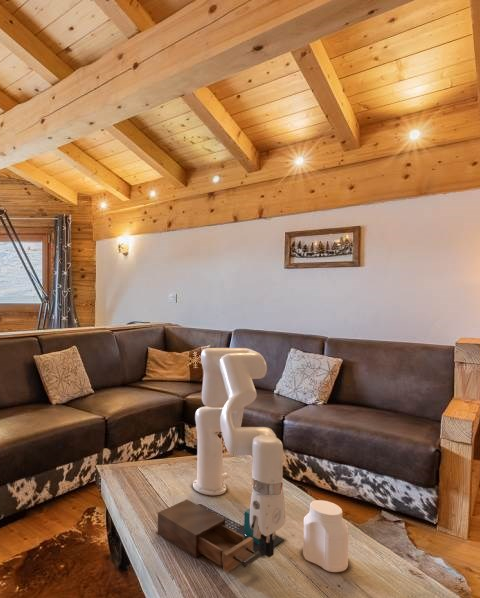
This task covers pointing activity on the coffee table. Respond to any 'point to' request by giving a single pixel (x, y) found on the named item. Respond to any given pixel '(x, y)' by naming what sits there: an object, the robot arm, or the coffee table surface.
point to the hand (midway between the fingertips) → (266, 553)
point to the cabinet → (187, 524)
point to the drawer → (227, 547)
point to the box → (248, 527)
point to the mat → (256, 546)
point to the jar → (326, 536)
